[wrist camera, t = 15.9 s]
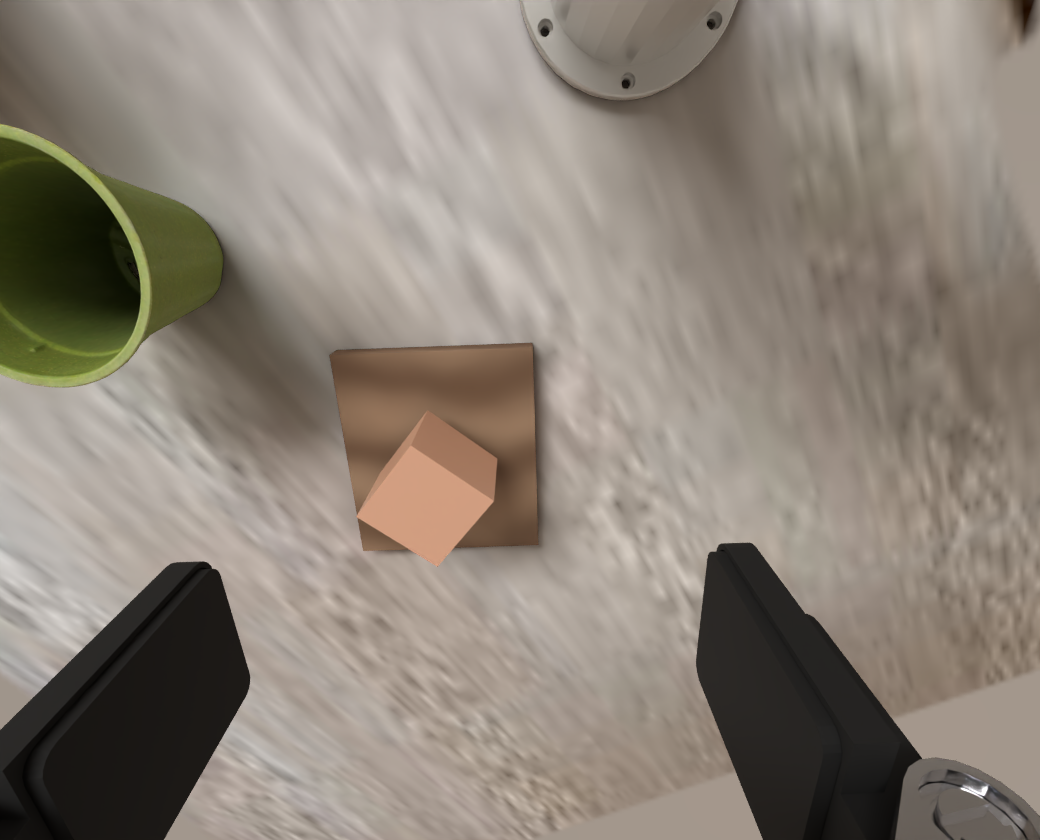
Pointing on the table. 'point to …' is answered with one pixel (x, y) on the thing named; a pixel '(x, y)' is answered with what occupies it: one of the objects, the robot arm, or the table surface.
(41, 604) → the table surface
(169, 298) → the plant pot
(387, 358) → the post board
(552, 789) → the table surface
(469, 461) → the salmon orange cube
